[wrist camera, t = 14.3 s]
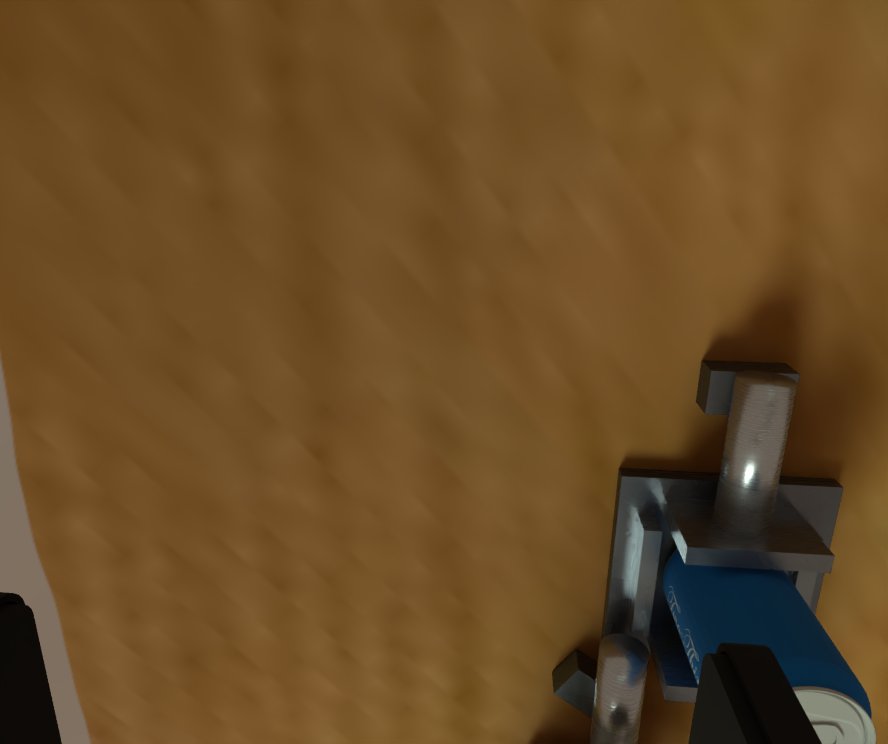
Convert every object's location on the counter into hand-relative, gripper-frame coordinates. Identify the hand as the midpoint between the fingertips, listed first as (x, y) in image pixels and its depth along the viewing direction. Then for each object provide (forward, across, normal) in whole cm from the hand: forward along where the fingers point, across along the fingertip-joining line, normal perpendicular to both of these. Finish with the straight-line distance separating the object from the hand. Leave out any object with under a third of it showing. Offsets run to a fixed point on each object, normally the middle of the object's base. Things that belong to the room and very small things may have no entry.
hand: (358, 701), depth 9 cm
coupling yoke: (+28, -14, +15) cm, 35 cm away
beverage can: (+28, -15, +16) cm, 35 cm away
